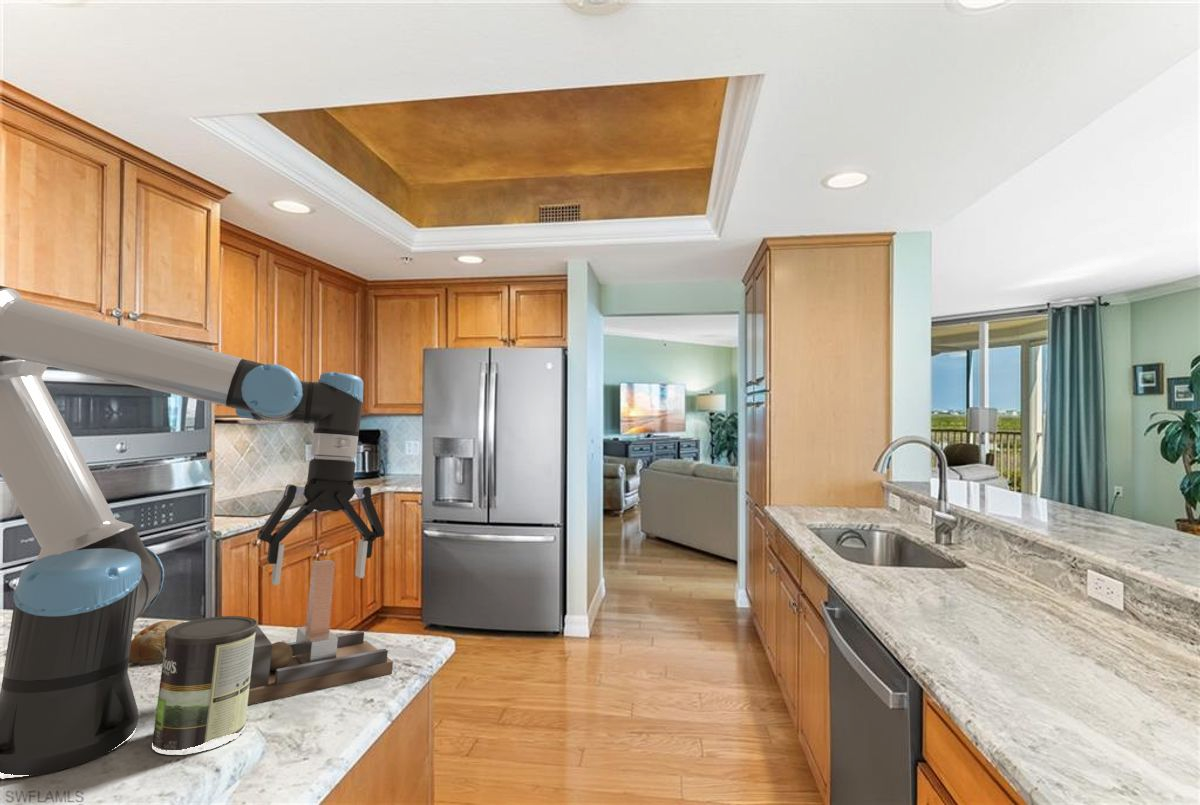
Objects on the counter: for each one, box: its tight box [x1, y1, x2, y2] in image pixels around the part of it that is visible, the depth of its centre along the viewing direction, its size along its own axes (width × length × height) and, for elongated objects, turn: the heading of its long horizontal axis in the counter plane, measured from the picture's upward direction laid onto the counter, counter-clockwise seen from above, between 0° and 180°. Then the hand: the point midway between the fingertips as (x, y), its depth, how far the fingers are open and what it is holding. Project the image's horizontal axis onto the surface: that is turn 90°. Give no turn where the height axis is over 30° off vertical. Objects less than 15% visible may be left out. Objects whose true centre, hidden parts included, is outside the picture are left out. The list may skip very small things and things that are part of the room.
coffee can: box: [151, 615, 259, 751], centre depth 73 cm, size 10×10×14 cm
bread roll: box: [129, 620, 185, 665], centre depth 100 cm, size 10×10×8 cm
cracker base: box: [247, 625, 394, 706], centre depth 94 cm, size 22×14×8 cm, turn 131°
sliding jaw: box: [295, 559, 338, 664], centre depth 95 cm, size 4×10×17 cm, turn 41°
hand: (319, 580), depth 95 cm, fingers open, 13 cm apart
